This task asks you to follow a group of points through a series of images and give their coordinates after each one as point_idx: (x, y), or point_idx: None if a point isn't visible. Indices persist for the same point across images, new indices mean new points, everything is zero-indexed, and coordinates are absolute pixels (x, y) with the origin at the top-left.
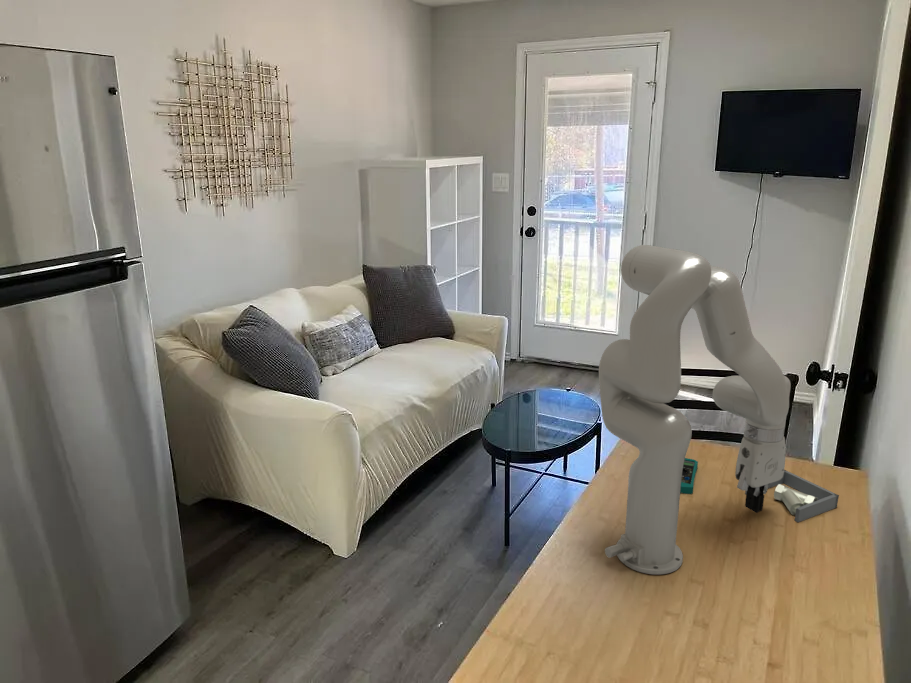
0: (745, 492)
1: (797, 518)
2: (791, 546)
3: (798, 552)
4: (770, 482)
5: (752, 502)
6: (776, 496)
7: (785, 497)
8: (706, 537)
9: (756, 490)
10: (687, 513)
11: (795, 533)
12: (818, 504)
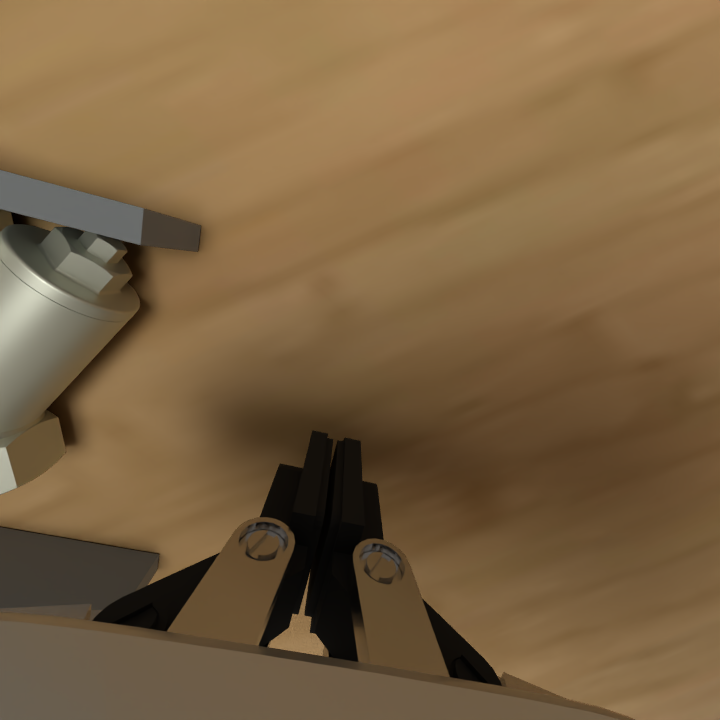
0: (151, 577)
1: (187, 230)
2: (523, 127)
3: (567, 56)
4: (281, 675)
5: (380, 513)
6: (47, 450)
7: (28, 397)
8: (710, 494)
9: (411, 614)
10: (551, 636)
11: (346, 178)
12: None
